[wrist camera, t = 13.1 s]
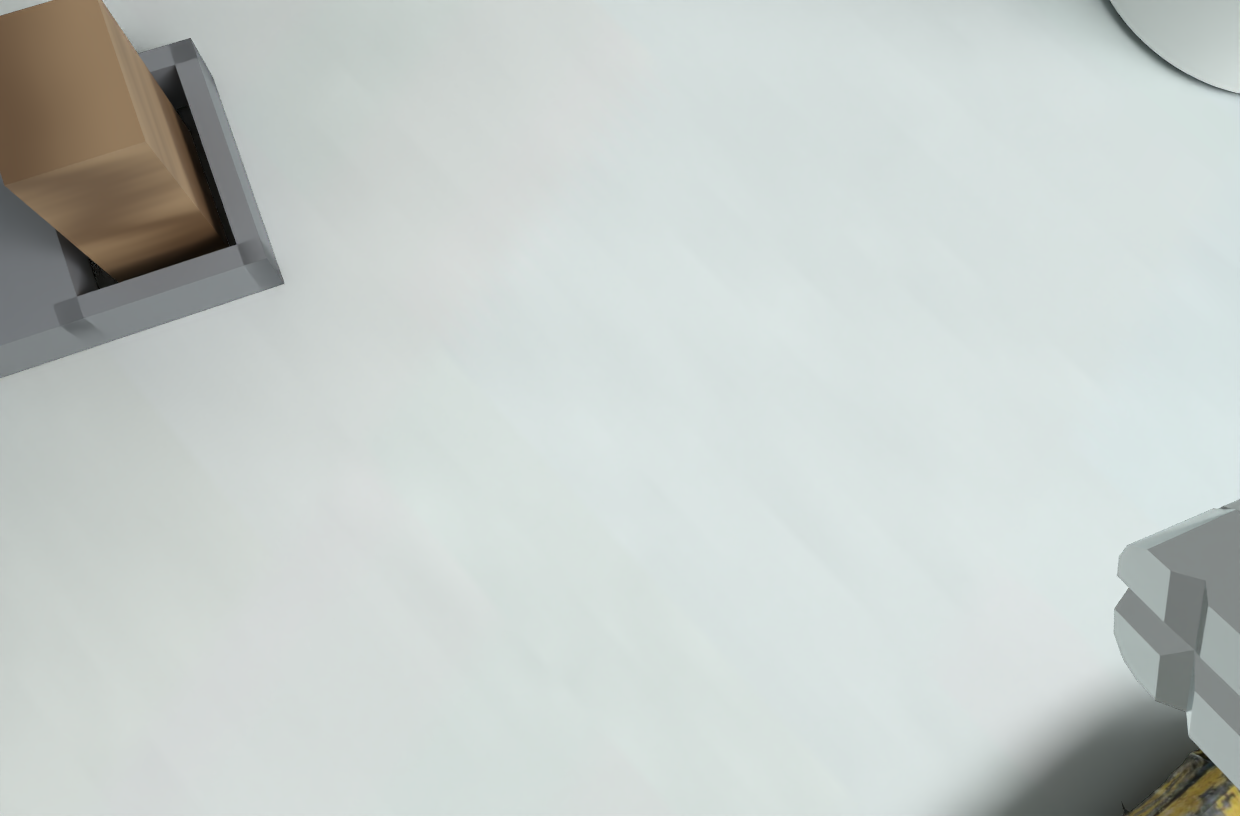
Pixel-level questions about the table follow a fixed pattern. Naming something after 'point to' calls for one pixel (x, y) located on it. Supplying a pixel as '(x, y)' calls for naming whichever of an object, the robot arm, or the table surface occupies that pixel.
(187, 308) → the grey l-shaped post
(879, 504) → the table surface
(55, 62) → the brown rectangular block
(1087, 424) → the table surface
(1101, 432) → the table surface
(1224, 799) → the pulley block
